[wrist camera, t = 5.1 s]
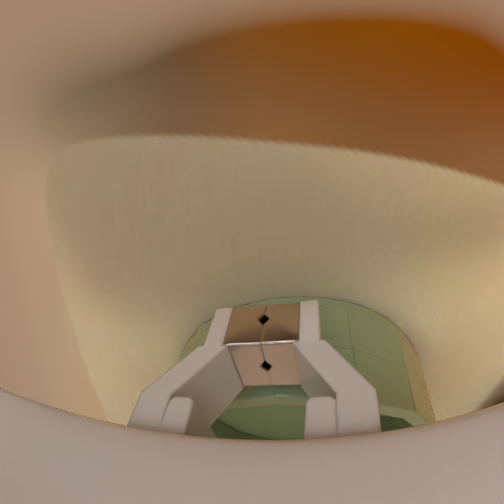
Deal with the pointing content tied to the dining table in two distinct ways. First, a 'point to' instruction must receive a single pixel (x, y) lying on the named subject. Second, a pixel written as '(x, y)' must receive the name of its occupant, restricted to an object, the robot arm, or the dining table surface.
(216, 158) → the dining table surface
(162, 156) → the dining table surface
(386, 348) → the bowl
